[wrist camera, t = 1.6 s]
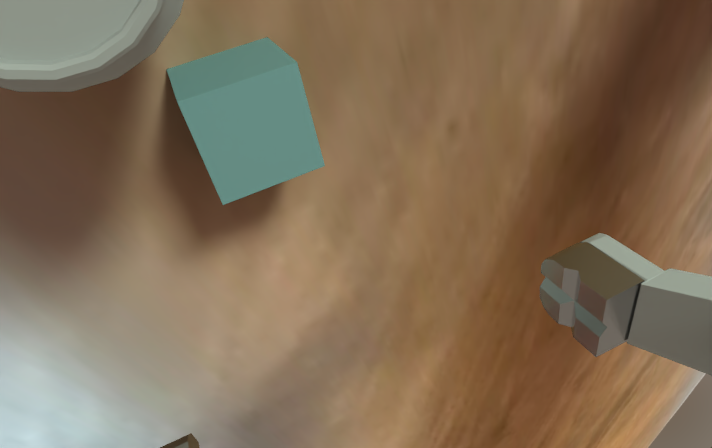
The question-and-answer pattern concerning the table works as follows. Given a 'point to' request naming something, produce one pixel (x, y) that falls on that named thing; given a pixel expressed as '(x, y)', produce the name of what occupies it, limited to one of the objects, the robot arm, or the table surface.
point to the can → (78, 40)
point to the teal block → (248, 117)
